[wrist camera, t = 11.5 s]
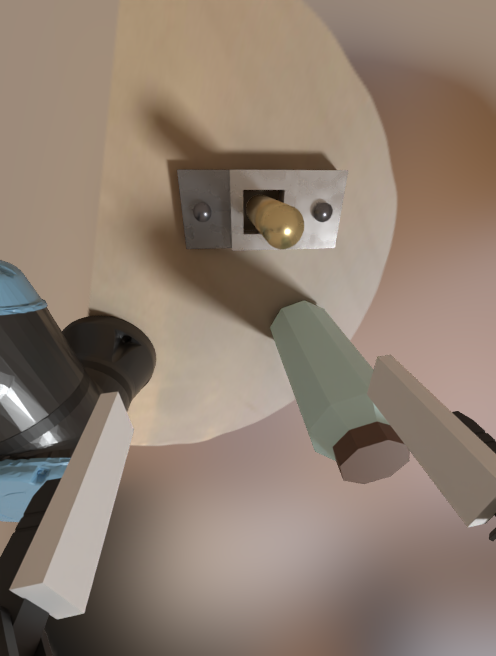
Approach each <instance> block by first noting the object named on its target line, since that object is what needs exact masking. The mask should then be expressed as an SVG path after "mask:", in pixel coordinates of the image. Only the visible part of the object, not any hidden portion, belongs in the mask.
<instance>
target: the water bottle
mask: <svg viewBox="0 0 496 656" xmlns="http://www.w3.org/2000/svg"><path fill="white" fill-rule="evenodd" d="M270 329H271V332H272V335H273V338H274V341H275V343H276V346H277V349H278V352H279V354H280V357H281V360H282V363H283V365H284V368H285V371H286V374H287V376H288V379H289V382H290V385H291V387H292V390H293V393H294V395H295V398H296V401H297V404H298V406H299V409H300V412H301V415H302V417H303V420H304V423H305V425H306V428H307V431H308V434H309V436H310V439H311V442H312V445H313V447H314V450H315V452H317V453H319V454H322V455H324V456H326V457H328V458H330V459H333V460H335V461H336V462H337V465H338V467H339V470H340V472H341V475H342V478H343V480H344V481H350V482H356V483H361V484H366V483H369V482H373V481H376V480H379V479H383V478H386V477H390V476H391V475H393V474H394V473H395V472H396V471H398V470H399V469H400V468H401V467H402V466H404V465H405V464H406V463H407V462H409V453H410V451H409V449H408V448H407V447H406V445H405V444H404V443H403V441H402V440H401V439H400V437H399V436H398V435H397V433H396V432H395V431H394V429H393V428H392V427H391V425H390V424H389V423H388V422H387V420H386V419H385V418H384V416H383V415H382V414H381V412H380V411H379V410H378V408H377V407H376V406H375V404H374V403H373V402H372V400H371V399H370V398H369V396H368V395H367V392H368V388H369V384H370V381H371V377H372V374H373V369H372V367H371V366H370V365H369V363H368V362H367V361H366V360H365V359H364V357H363V356H362V355H361V354H360V353H359V351H358V350H357V349H356V348H355V346H354V345H353V344H352V343H351V342H350V340H349V339H348V338H347V337H346V336H345V334H344V333H343V332H342V331H341V329H340V328H339V327H338V326H337V325H336V323H335V322H334V321H333V320H332V318H331V317H330V316H329V315H328V314H327V312H326V311H325V310H324V309H323V308H321V307H318V306H316V305H314V304H312V303H309V302H307V301H305V300H304V301H301V302H298V303H295V304H292V305H290V306H287V307H284V308H281V310H280V312H279V313H278V315H277V317H276V318H275V320H274V322H273V323H272V325H271V327H270Z"/></svg>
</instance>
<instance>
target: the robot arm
mask: <svg viewBox="0 0 496 656" xmlns="http://www.w3.org/2000/svg"><path fill="white" fill-rule="evenodd" d="M155 365H156V353H155V349H154V347H153V345H152V343H151V341H150V340H149V339H148V337H147V336H146V335H145V334H144V333H143V332H142V331H141V330H139V329H138V328H137V327H135V326H133V325H132V324H130V323H128V322H126V321H123V320H120V319H117V318H113V317H108V316H89V317H84V318H81V319H78V320H76V321H74V322H72V323H71V324H69V325H68V326H67V327H66V328H65V329H64V330H63V331H62V332H61V330H60V328H59V327H58V325H57V323H56V322H55V321H54V319H53V317H52V315H51V314H50V312H49V310H48V309H47V303H46V301H45V300H43V299H41V298H40V296H39V295H38V294H37V292H36V291H35V289H34V288H33V286H32V285H31V284H30V282H29V281H28V280H27V278H26V277H25V275H24V274H23V273H22V272H21V270H19V269H18V268H17V267H16V266H14V265H12V264H10V263H8V262H5V261H1V260H0V521H7V522H19V523H18V525H17V527H16V529H15V530H16V531H15V533H13V534H12V536H11V538H10V540H9V542H8V544H7V546H6V548H5V549H4V551H3V553H2V555H1V557H0V656H53V654H52V651H51V648H50V645H49V641H48V637H47V634H46V632H45V631H44V627H45V624H46V621H47V618H48V616H49V614H50V615H51V616H53V617H54V618H56V619H61V618H65V617H70V616H73V615H79V614H83V613H84V612H85V608H86V604H87V601H88V597H89V594H90V590H91V586H92V582H93V579H94V575H95V571H96V568H97V564H98V560H99V557H100V553H101V549H102V546H103V542H104V538H105V535H106V531H107V527H108V523H109V520H110V516H111V513H112V509H113V505H114V502H115V498H116V494H117V490H118V486H119V483H120V479H121V475H122V472H123V468H124V465H125V461H126V457H127V454H128V450H129V446H130V443H131V439H132V435H133V432H134V428H133V426H132V423H131V421H130V419H129V416H128V414H127V411H128V408H129V406H130V403H131V401H132V400H133V398H134V397H135V396H136V395H137V394H138V393H139V391H140V390H141V389H142V388H143V387H144V386H145V385H146V384H147V383H148V382H149V380H150V378H151V377H152V374H153V371H154V368H155ZM367 395H368V396H369V398H370V399H371V400H372V402H373V403H374V404H375V406H376V407H377V408H378V410H379V411H380V412H381V414H382V415H383V416H384V418H385V419H386V420H387V422H388V423H389V424H390V425H391V427H392V428H393V429H394V431H395V432H396V433H397V435H398V436H399V437H400V439H401V440H402V441H403V443H404V444H405V445H406V447H407V448H408V449H409V451H410V452H411V453H412V454H413V456H414V457H415V458H416V460H417V461H418V462H419V464H420V465H421V466H422V468H423V469H424V470H425V472H426V473H427V474H428V476H429V477H430V478H431V480H432V481H433V482H434V484H435V485H436V486H437V488H438V489H439V490H440V492H441V493H442V494H443V495H444V497H445V498H446V499H447V501H448V502H449V503H450V505H451V506H452V507H453V509H454V510H455V511H456V513H457V514H458V515H459V517H460V518H461V519H462V521H463V522H464V523H465V525H466V526H467V527H472V526H476V525H481V524H485V523H487V522H488V521H489V520H490V519H491V518H492V517H493V516H494V515H495V516H496V442H495V439H493V438H492V437H491V436H490V435H489V434H488V433H485V431H484V430H483V429H482V428H481V427H480V426H479V425H478V424H477V423H476V422H474V421H473V420H472V419H470V418H469V417H467V416H465V415H464V414H462V413H460V412H459V411H455V412H451V411H449V409H448V408H447V407H446V406H444V405H443V404H442V403H441V402H440V401H439V400H438V399H437V398H436V397H435V396H434V395H433V394H432V393H431V392H430V391H429V390H428V389H426V388H425V387H424V386H423V385H422V384H421V383H420V382H419V381H418V380H417V379H416V378H415V377H414V376H412V374H411V373H409V372H408V371H407V370H406V369H405V368H404V367H403V366H402V365H401V364H400V363H399V362H398V361H396V359H395V358H394V357H393V356H391V355H385V356H378V357H377V359H376V363H375V366H374V370H373V374H372V377H371V381H370V384H369V388H368V392H367ZM495 539H496V528H495V529H494V530H493V531H492V532H491V533H490V534H489V540H491V541H494V540H495Z"/></svg>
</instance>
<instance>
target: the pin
mask: <svg viewBox="0 0 496 656" xmlns="http://www.w3.org/2000/svg"><path fill="white" fill-rule="evenodd" d="M246 214H247V217H248V218H249V220H250V221H251V222H252V223H253V225H254V226H255V227H256V228H257V230H258V231H259V232H260V233H261V235H262V236H263V237H264V238H265V240H266V241H267V242H268V243H269V244H270V245H271V246H272V247H274V248H277V249H288V248H290V247H292V246H294V245H295V244H296V243H297V242H298V241H299V240H300V238H301V237H302V234H303V231H304V219H303V216H302V214H301V213H300V211H299V210H298V209H296V208H295V207H293V206H290V205H288V204H285V203H283V202H280V201H277V200H275V199H272V198H270V197H267V196H265V195H261V194H258V195H254V196H253V197H251V198H250V199H249V201H248V203H247V205H246Z"/></svg>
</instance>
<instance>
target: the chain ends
mask: <svg viewBox="0 0 496 656" xmlns="http://www.w3.org/2000/svg"><path fill="white" fill-rule="evenodd" d="M177 174H178V182H179V190H180V198H181V207H182V215H183V223H184V232H185V240H186V248H187V249H207V248H232V251H238V250H276V249H277V248H274V247H272V246H271V245H270V244H269V243H268V242H267V241H266V240H265V238H264V237H263V236H262V235H261V233H260V232H259V231H258V230H243V190H279V201H280V202H283V203H285V204H288V205H290V206H293V207H295V208H296V209H298V210H299V211H300V213H301V214H302V216H303V219H304V231H303V234H302V237H301V238H300V240H299V241H298V242H297V243H296V244H295V245H294V246H292V247H290V248H288V249H313V248H335V243H336V237H337V232H338V226H339V220H340V214H341V209H342V203H343V197H344V192H345V186H346V180H347V175H348V170H177Z"/></svg>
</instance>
